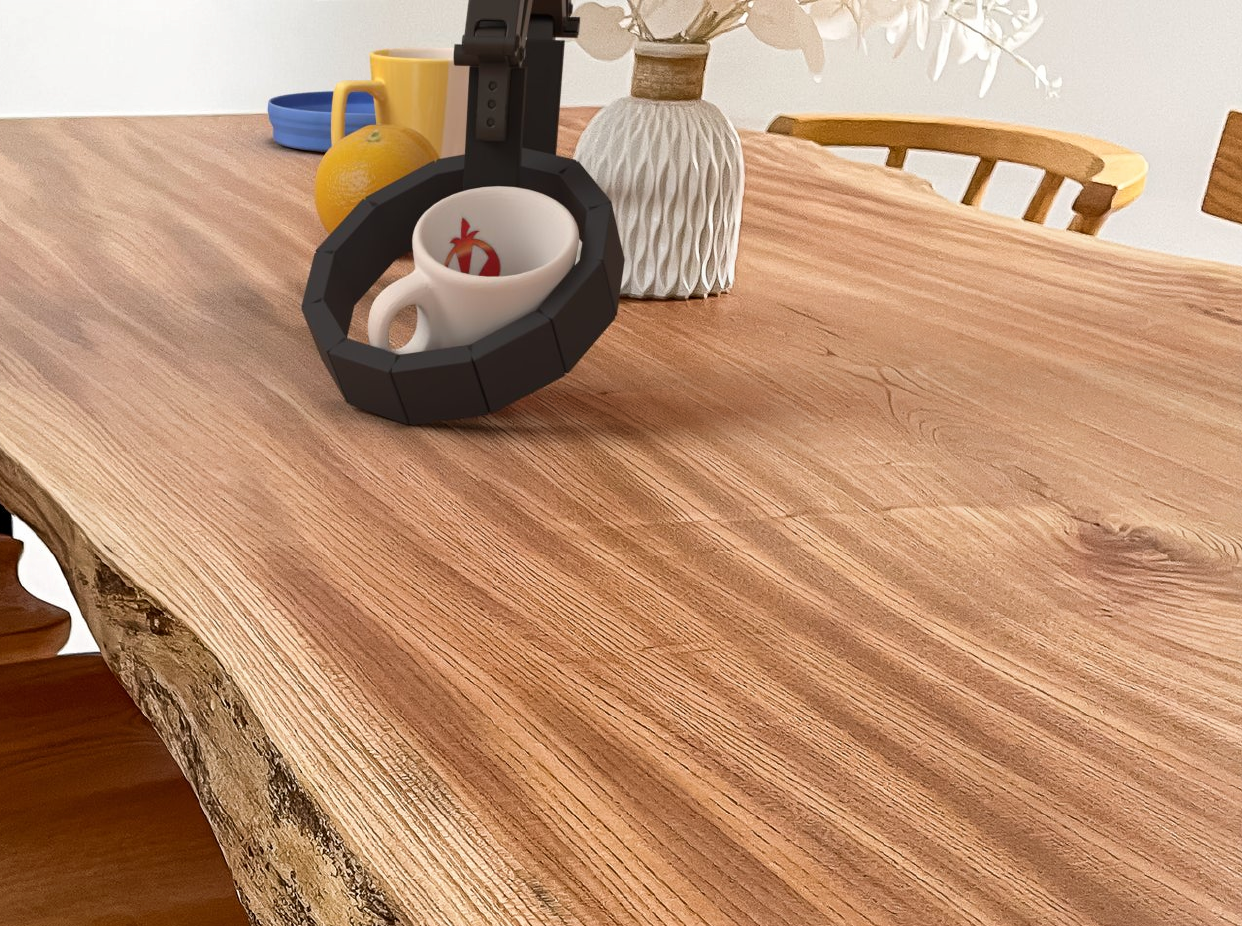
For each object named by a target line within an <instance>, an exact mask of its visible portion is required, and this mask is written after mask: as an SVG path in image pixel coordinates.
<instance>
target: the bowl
mask: <svg viewBox="0 0 1242 926" xmlns="http://www.w3.org/2000/svg"><path fill="white" fill-rule="evenodd" d="M333 93H334V90H325V91H307V92H297V93H296V92H295V93H289V94H282V95H277V96H274V97H272V98H269V100H268V102H267V113H268V120H269V122H270V124H271V126H272V139H273V140H274V142H276V144H278V145H280V146H284V147H287V148H293V149H296V150H297V149H298V150H304V151H312V152H320V153H326V152H327V151H328V150H329V149H330V148H331V147H332V143H331V114H332V101H333ZM368 125H377V124H376V115H375V106H374V98H373V96H372V95H371V94H369V93H367V92H364V91H354V92H350V93H349V94H348V97H347V102H346V110H345V137H346V136H348V135H349V134H351V133H353V132H355V131H357V130H359V129H361V128H363V127H365V126H368Z"/></svg>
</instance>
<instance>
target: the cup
mask: <svg viewBox="0 0 1242 926" xmlns="http://www.w3.org/2000/svg"><path fill="white" fill-rule="evenodd" d="M412 245H413V251H412V255H413V262H414V269H413V271H412V272H410V273H408V274H407V275H406V276H404V277H401V278H399V279H398V280H397V279H396V281H394V282H392V283H390V284H389V285H388V286H386V287H385V288H384V289H383V290H382V291H381V292H379V294H378V295H377V296H376V298H374V301H373V303H372V304H371V307H370V310H369V313H368V319H367V335H368V341H369V345H371V346H374V347H377V348H380V349H383V350H386V351H390V352H393V353H396V354H399V355H400V354H407V353H414V352H421V351H428V350H435V349H442V348H449V347H456V346H463V345H470V344H472V343H474V342H476V341H478V340H480V339H482V338H484V337H485V336H487V335H489V334H491V333H493V332H495V331H497V330H499V329H501V328H503V327H504V326H506V325H508V324H510V323H512V322H514V321H516V320H518V319H520V318H522V317H524V316H525V315H527V314H529V313H531V312H533V311H535V310H537V308H538V307H539V306H540V305H541V304H542V303H543V301H544V300H545V299H546V298H547V297H548V296H549V295H550V293H551V292H552V291H553V290H554V289H555V288H556V287H557V285H558V284H559V283H560V282H561V281H562V280H563V278H564V277H565V276H566V275H567V274H568V273H569V272H570V270H571V269H572V268H573V267H574V266H575V265H576V263H577V262H576V261H577V255H578V250H579V245H580V239H579V231H578V226H577V224H576V221H575V219H574V217H573V216H572V215H571V213H570V212H569V211H568V210H567V209H566V208H565V207H564V206H563V205H562V204H560V203H559V202H557V201H556V200H554V199H552V198H550V197H548V196H546V195H544V194H541V193H538V192H535V191H532V190H528V189H522V188H517V187H503V186H495V187H482V188H476V189H470V190H466V191H463V192H459V193H456V194H453V195H451V196H449V197H447V198H444V199H442V200H441V201H439V202H437V203H436V204H434V205H433V206H432V207H431V208H429V209H428V210H427V211H426V212H425V213H424V214H423V215H422V217H421V218H420V219H419V221H418V223H417V224H416V227H415V229H414V233H413V239H412ZM409 306H415V307H416V311H417V313H416V314H417V320H416V321H417V322H416V326H415V330H414V334H413V336H412V337H411V339H410V340H409V341H408V342H407V343H406V344H405V345H404V346H402V347H399V348H396V349H395V348H392V347H391V344H390V329H391V325H392V323H393V320H394V318H395V317H396V315H397V314H398V313H399V312H401V310H403V309H404V308H406V307H409Z"/></svg>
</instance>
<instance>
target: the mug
mask: <svg viewBox="0 0 1242 926" xmlns="http://www.w3.org/2000/svg"><path fill="white" fill-rule="evenodd" d="M368 57H369V66H370V79H371V80H368V79H367V80H365V79H363V80H362V79H361V80H360V79H359V80H358V79H357V80H353V79H352V80H342V81H339V82H338V83H336V84H335V86H334V89H333V91H334V93H333V101H332V114H331V143H332V146H333V145H334V144H336V143H337V142H338V141H340V140H341V139H342V138H344V137H345V110H346V102H347V97H348V94H349V93H350V92H354V91H364V92H367V93H369V94H371V95H372V96H373V98H374V106H375V115H376V124H377V125H379V124H381V125H395V126H402V127H407V128H410V129H413V130H415V131H417V132H418V133H420V134H422V135H423V136H424V137H425V138H426V139H427V140H428V141H429V142H430V143H431V145H432V146H433V147H434V149H435V150H436V152H437V154H438V156H439V158H440V159H441V158H447V157H452V156H458V155H463V154H465V140H466V121H467V102H468V83H469V67H470V66H454V47H445V46H444V47H443V46H408V47H407V46H406V47H405V46H404V47H391V48H386V49H385V48H382V49H377V50H373V51H371V52H369V56H368Z"/></svg>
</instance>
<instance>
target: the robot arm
mask: <svg viewBox="0 0 1242 926" xmlns="http://www.w3.org/2000/svg"><path fill="white" fill-rule="evenodd" d="M467 1H468V3H467V10H466V17H465V18H466V19H465V26H464V33H463V34H462V37H461V43H454V45H453V48H454V66H470V67H469V83H468V102H467V121H466V140H465V159H464V178H463V191H466V190H470V189H476V188H482V187H495V186H503V187H517V188H519V187H520V172H521V157H522V148H526V149H531V150H535V151H539V152H544V153H548V154H553V155H557V153H558V152H557V150H558V139H559V123H560V112H561V111H560V110H561V99H562V85H563V74H564V73H563V72H564V58H565V46H566V45H565V44H566V40H565V39H578V38H579V35H580V28H581V16H572V15H573V11H574V4H573V3H572V0H467ZM556 38H558V39H556Z"/></svg>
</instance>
